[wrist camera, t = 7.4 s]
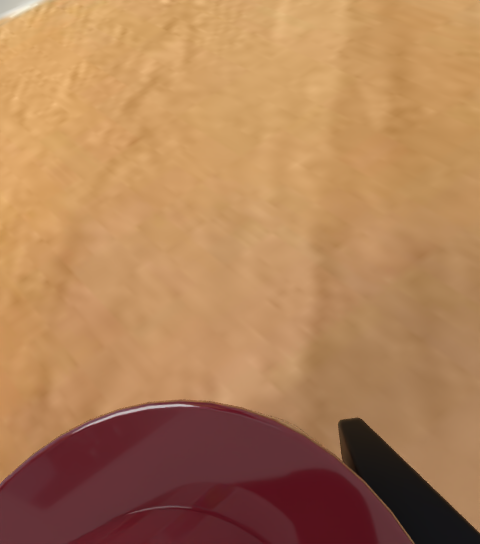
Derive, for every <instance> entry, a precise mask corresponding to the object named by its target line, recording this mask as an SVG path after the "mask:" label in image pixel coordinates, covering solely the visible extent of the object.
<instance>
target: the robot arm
mask: <svg viewBox="0 0 480 544" xmlns="http://www.w3.org/2000/svg"><path fill="white" fill-rule="evenodd" d="M338 428H339V437H340V446H341V454H342V459H343V462H344V463H345V464H346V465H347V466H348V467H349V468H350V469H352V470H353V471H354V472H355V473H356V474H357V475H358V476H359V477H361V478H362V479H363V480H364V481H365V482H366V483H367V484H368V485H369V487H370V488H371V489H372V490H373V491H374V492H375V493H376V494H377V495H378V497H379V498H380V499H381V500H382V501H383V502H384V503H385V504H386V506H387V507H388V508H389V509H390V510H391V511H392V512H393V514H394V515H395V517H396V518H397V519H398V521H399V522H400V524H401V525H402V526H403V528H404V529H405V531H406V532H407V533H408V535H409V536H410V538H411V539H412V540H413V542H414V543H415V544H480V533H479V532H478V531H477V530H476V529H475V528H474V527H473V526H472V525H471V524H470V523H469V522H468V521H467V520H466V519H465V518H464V517H463V516H461V515H460V514H459V513H458V512H457V511H456V510H455V509H454V508H453V507H452V506H451V505H450V504H449V503H448V502H447V501H446V500H445V499H444V498H443V497H442V496H441V495H440V494H439V493H438V492H437V491H436V490H435V489H433V488H432V487H431V486H430V485H429V484H428V483H427V482H426V481H425V480H424V479H423V478H422V477H421V476H420V475H419V474H418V473H417V472H416V471H415V470H414V469H413V468H412V467H411V466H410V465H409V464H408V463H407V462H405V461H404V460H403V459H402V458H401V457H400V456H399V455H398V454H397V453H396V452H395V451H394V450H393V449H392V448H391V447H390V446H389V445H388V444H387V443H386V442H385V441H384V440H383V439H382V438H381V437H380V436H379V435H377V434H376V433H375V432H374V431H373V430H372V429H371V428H370V427H369V426H368V425H367V424H366V423H365V422H364V421H363V420H362V419H360V418H351V419H344V420H340V421H339V423H338Z"/></svg>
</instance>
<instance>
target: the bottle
mask: <svg viewBox="0 0 480 544" xmlns="http://www.w3.org/2000/svg"><path fill="white" fill-rule="evenodd" d="M0 544H415V543H414V542H413V540H412V539H411V538H410V536H409V535H408V533H407V532H406V531H405V529H404V528H403V526H402V525H401V524H400V522H399V521H398V519H397V518H396V517H395V515H394V514H393V512H392V511H391V510H390V509H389V508H388V507H387V506H386V504H385V503H384V502H383V501H382V500H381V499H380V498H379V497H378V495H377V494H376V493H375V492H374V491H373V490H372V489H371V488H370V487H369V485H368V484H367V483H366V482H365V481H364V480H363V479H362V478H361V477H359V476H358V475H357V474H356V473H355V472H354V471H353V470H352V469H350V468H349V467H348V466H347V465H346V464H345V463H344V462H342V461H341V460H340V459H339V458H338V457H337V456H336V455H334V454H333V453H332V452H330V451H329V450H328V449H326V448H325V447H324V446H322V445H321V444H320V443H318V442H317V441H316V440H314V439H313V438H311V437H310V436H309V435H307V434H306V433H305V432H303V431H302V430H301V429H299V428H298V427H296V426H295V425H293V424H291V423H289V422H287V421H284V420H281V419H279V418H275V417H272V416H269V415H265V414H262V413H259V412H255V411H252V410H249V409H245V408H242V407H237V406H232V405H227V404H222V403H217V402H212V401H196V400H169V401H156V402H148V403H143V404H139V405H134V406H129V407H125V408H120V409H117V410H115V411H112V412H109V413H106V414H104V415H101V416H98V417H96V418H93V419H90V420H88V421H86V422H84V423H82V424H80V425H78V426H77V427H75V428H73V429H71V430H69V431H67V432H65V433H63V434H61V435H60V436H58V437H57V438H55V439H54V440H52V441H51V442H50V443H48V444H47V445H45V446H44V447H42V448H41V449H39V450H38V451H37V452H35V453H34V454H32V455H31V456H30V457H29V458H28V459H27V460H26V461H24V462H23V463H22V464H21V465H20V466H19V467H18V468H16V469H15V470H14V471H13V472H12V473H11V474H10V475H8V476H7V477H6V478H5V479H4V480H3V482H2V483H1V484H0Z"/></svg>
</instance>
